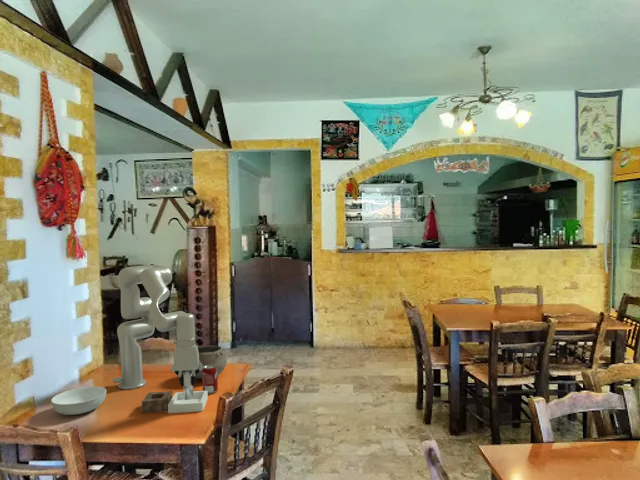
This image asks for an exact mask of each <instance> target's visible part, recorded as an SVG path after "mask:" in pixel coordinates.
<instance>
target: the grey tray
mask: <svg viewBox="0 0 640 480" xmlns="http://www.w3.org/2000/svg"><path fill="white" fill-rule="evenodd" d="M208 395H209V394H208V391H203V390H197V391H196V390H195V391H194V390H193V398H192V399H190V400H184V394H183V392H175V393H174V394H173V395H172V399H171V401H170V402H169V404H168V411H167V413H168V414H179V413H194V412H195V413H196V412H203V411H204V409H205V407H206V404H207V402H208V399H209V396H208Z"/></svg>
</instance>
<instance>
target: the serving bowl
mask: <svg viewBox="0 0 640 480" xmlns="http://www.w3.org/2000/svg"><path fill="white" fill-rule="evenodd" d="M106 396H107V389H106V388H105V387H102V386H84V387H83V386H82V387H78V388H73V389H70V390H66V391H63V392H61V393H60V392H59V393H58V394H56V395H55V396H53V397H52V398H51V399H50V402H51V406H52V409H53V410H54V411H55V412H56V413H58V414H61V415H66V416H71V415H72V416H73V415H75V416H76V415H82V414H85V413H88V412H90V411H92V410H95V409H96V408H98V407H100V406H101V405H102V403H103V402H104V401H105V398H106Z"/></svg>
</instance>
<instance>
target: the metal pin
mask: <svg viewBox="0 0 640 480" xmlns="http://www.w3.org/2000/svg"><path fill="white" fill-rule="evenodd" d="M182 389H183V394H184V400H190V399H192V398H193V392H194V386H192V370H187V371H183V386H182Z"/></svg>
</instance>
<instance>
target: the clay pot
mask: <svg viewBox="0 0 640 480" xmlns="http://www.w3.org/2000/svg"><path fill="white" fill-rule="evenodd" d="M197 347H198V352H199V360H200V362H201V363H202V365H203V366H205V365H215V366H216V368H217V377H218V376H219V375H220V374H222V373H223V372H224V370H225V368H226V366H227V362H228V361H227V360H228V358H227V354H226V352H225V350H224V349H223V347H222V346H219V345H203V346H202V345H201V346H197ZM198 368H200V367H198ZM196 370H197V369H196ZM202 370H203V369H202ZM202 370H201V371H199V372H198V373H197V375H196V379H199V380H200V379H201V380H202ZM192 375H193V374H192Z"/></svg>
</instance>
